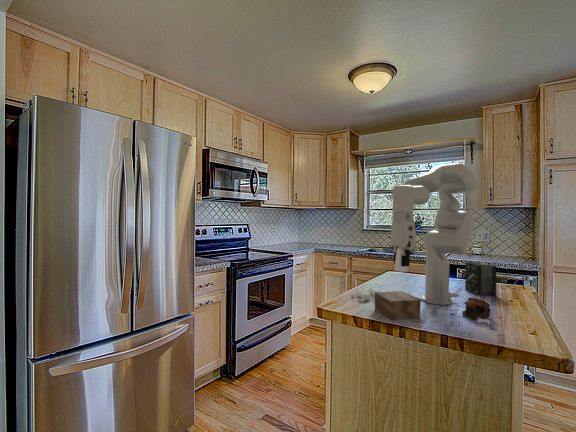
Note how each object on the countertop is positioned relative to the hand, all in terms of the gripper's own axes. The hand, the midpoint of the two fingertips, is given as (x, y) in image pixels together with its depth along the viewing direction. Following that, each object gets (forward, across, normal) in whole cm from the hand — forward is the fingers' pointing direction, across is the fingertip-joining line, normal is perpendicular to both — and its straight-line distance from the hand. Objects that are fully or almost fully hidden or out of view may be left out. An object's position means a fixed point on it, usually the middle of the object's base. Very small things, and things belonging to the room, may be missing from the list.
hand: (401, 264), depth 118 cm
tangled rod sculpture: (+20, +26, -1) cm, 32 cm away
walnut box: (+19, +1, +1) cm, 19 cm away
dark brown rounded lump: (+20, -10, -27) cm, 35 cm away
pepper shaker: (+2, 0, 0) cm, 2 cm away
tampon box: (+19, +21, -62) cm, 68 cm away
